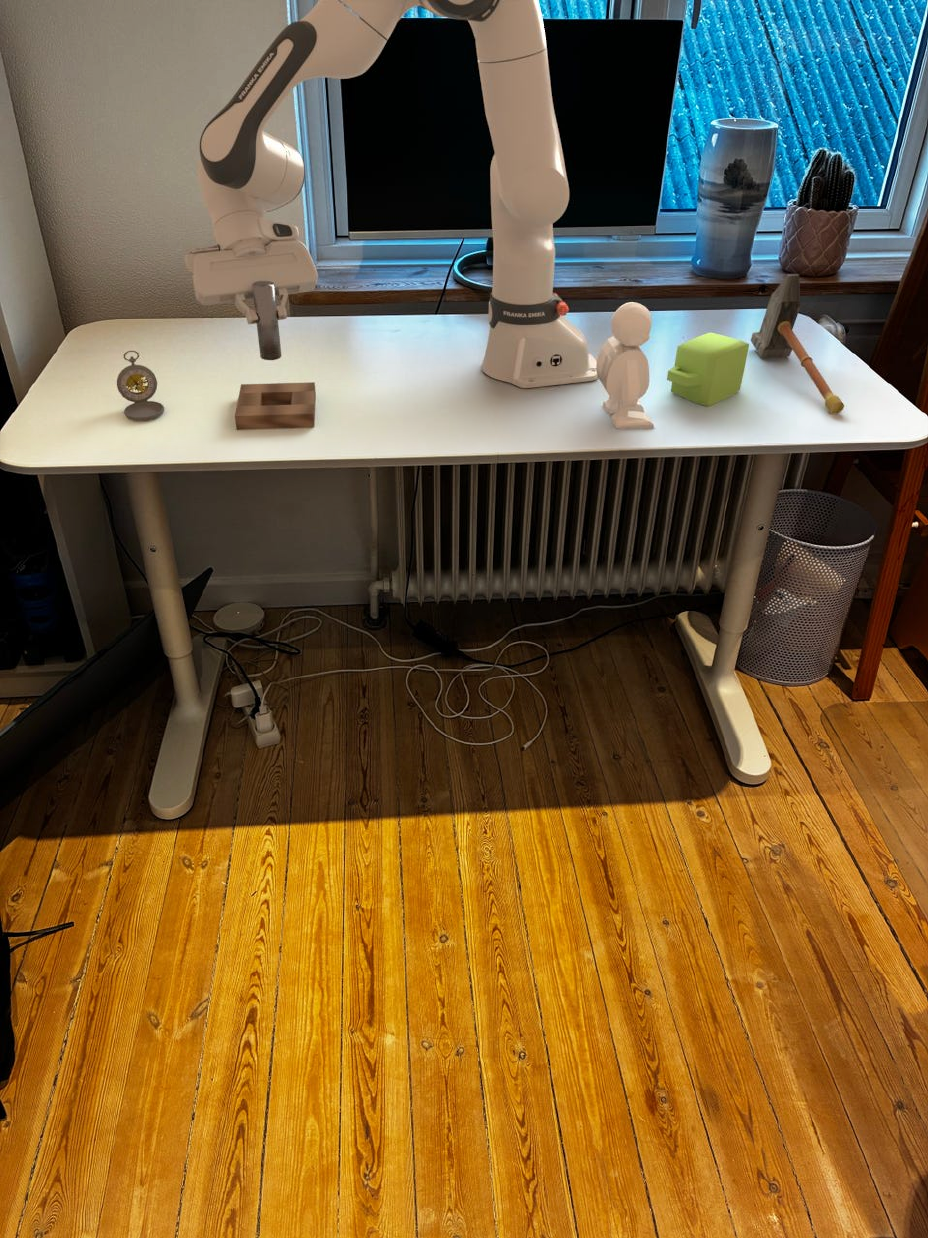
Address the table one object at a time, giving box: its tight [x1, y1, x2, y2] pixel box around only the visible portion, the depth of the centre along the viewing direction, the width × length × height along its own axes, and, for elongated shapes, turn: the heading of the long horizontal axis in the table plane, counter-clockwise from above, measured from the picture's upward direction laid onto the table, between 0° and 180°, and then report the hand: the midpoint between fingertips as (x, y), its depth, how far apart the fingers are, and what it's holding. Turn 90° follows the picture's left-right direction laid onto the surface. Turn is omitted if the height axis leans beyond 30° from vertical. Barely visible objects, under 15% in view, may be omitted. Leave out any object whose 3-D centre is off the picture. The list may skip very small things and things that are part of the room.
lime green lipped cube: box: [666, 332, 750, 407], centre depth 174 cm, size 18×10×10 cm, turn 134°
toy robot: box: [596, 301, 655, 430], centre depth 161 cm, size 14×9×20 cm, turn 7°
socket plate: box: [234, 381, 317, 431], centre depth 166 cm, size 13×13×2 cm
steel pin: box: [252, 281, 282, 361], centre depth 157 cm, size 4×4×12 cm
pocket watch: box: [116, 350, 165, 421], centre depth 163 cm, size 8×8×10 cm
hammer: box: [750, 273, 845, 415], centre depth 177 cm, size 6×16×31 cm
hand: (268, 320), depth 156 cm, fingers closed on steel pin, 3 cm apart
